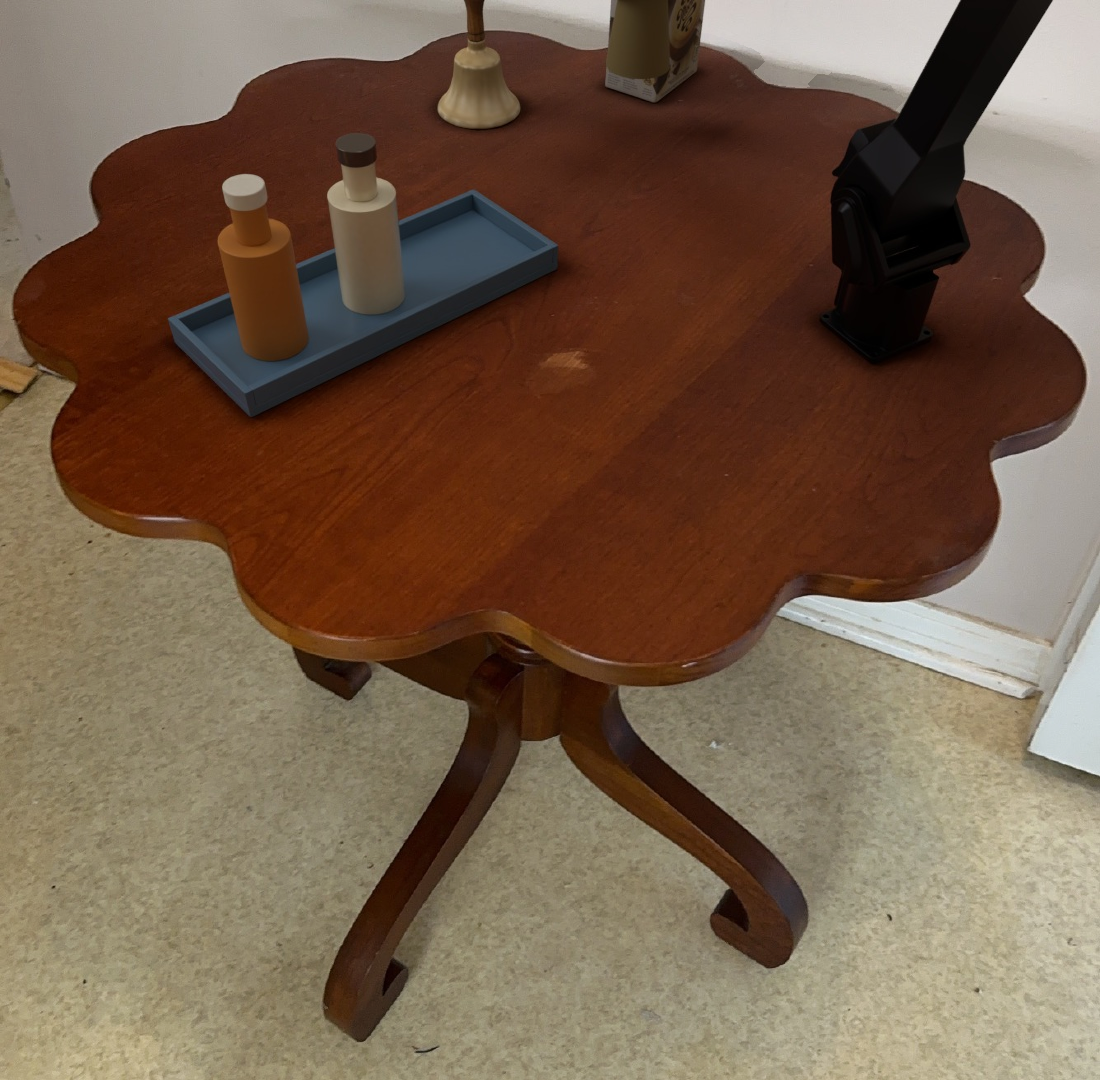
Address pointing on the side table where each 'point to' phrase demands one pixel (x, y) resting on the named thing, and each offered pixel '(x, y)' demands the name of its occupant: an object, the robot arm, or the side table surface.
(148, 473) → the side table surface
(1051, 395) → the side table surface
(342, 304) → the tray
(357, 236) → the cream bottle
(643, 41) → the olive pawn piece
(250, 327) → the amber bottle
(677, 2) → the coffee box
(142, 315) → the side table surface
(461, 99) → the hand bell
